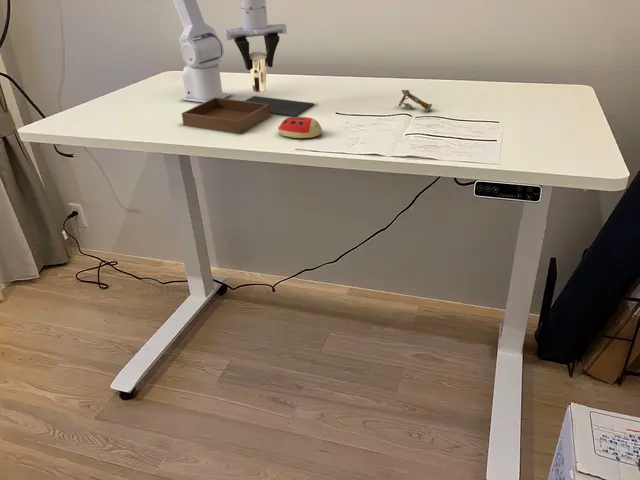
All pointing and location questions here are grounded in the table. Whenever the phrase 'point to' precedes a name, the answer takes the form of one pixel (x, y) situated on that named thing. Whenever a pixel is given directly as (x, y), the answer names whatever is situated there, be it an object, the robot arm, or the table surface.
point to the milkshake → (258, 70)
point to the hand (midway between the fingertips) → (259, 67)
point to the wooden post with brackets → (415, 99)
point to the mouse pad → (282, 106)
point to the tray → (226, 115)
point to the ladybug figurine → (300, 127)
